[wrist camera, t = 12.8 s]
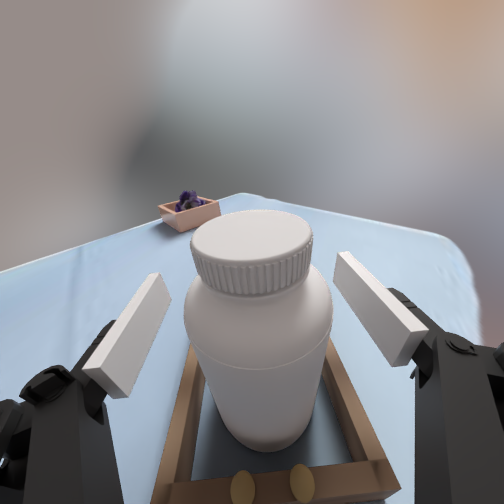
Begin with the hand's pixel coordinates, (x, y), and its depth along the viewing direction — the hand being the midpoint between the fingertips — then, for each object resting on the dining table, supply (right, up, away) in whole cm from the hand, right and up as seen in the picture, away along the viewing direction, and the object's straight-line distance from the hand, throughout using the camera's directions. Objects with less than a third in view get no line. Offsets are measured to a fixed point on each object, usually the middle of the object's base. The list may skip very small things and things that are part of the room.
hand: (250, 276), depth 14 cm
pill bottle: (+1, -10, +2) cm, 10 cm away
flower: (-19, +12, +44) cm, 49 cm away
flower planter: (-19, +12, +42) cm, 48 cm away
